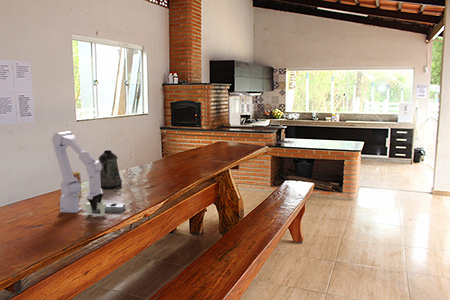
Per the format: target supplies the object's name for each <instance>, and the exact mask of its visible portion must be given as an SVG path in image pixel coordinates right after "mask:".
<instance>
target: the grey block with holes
mask: <svg viewBox="0 0 450 300" xmlns="http://www.w3.org/2000/svg"><path fill="white" fill-rule="evenodd" d="M105 203H106V208H105V213H123V211H124V210H126V203H121V202H120V203H119V202H105ZM94 212H95V213H97V212H98V213H99V212H100V209H96V210H92V213H94ZM100 213H101V212H100Z"/></svg>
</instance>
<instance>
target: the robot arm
mask: <svg viewBox="0 0 450 300" xmlns="http://www.w3.org/2000/svg"><path fill="white" fill-rule="evenodd" d="M51 141H52V144H53V149H54V152H55V155H56V160H57V163H58V166H59V170H60V174H61V175H62V179H63V180H62V181H61V182H60V192H61V196H60V197H59V207H60V211H59V213H72V214H73V213H74V214H77V213H78V212H79V211H81V210H82V209H83V207H80V197H79V192H80V191H81V192H82V183H81V184H80V183H79V181H78V179H77V178H75V177H74V176H73V173H72V172H73V170H72V166H71V164H70V160H69V157H68V154H67V151H66V150H67V148H68V146H69V147H70V148H71V149H72V150H73V151H74V152H75V153H76V154H77V155H78V159H79V160H80V161H81V162H82V164H83V165H84V166H85V170H86V172H87V175H88V184H89V185H88V186H89V193H88V196H87V197H86V198H87V201H88V202H89V203H90V205H91V208H92V210H96V209H97V203H102V199H103V197H104V191H103V189H102V188H101V181H100V171H101V170H102V164H101V162H100V161H99V160H97V159H95V158H94V157H93V155H92V154H90V151H88V150H84V149H83V147H82V146H81V145H80V144H79V142H78V141H77V140H76V135H75V134H74V133H73V132H72V131H70V130H67V131H61V132H55V133H53V136H52V137H51ZM68 183H70V184H68Z"/></svg>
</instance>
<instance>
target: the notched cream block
mask: <svg viewBox="0 0 450 300" xmlns="http://www.w3.org/2000/svg"><path fill="white" fill-rule="evenodd" d="M106 203H107V202H101V203H97V209H100V217H103V216H105V215H106V212H105V208H106ZM85 209H87V216H88V215H91V216H92V215H93V211H92V208H91V205H90V203H89V201H88V202H86V203H85Z"/></svg>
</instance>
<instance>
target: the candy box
mask: <svg viewBox="0 0 450 300" xmlns="http://www.w3.org/2000/svg"><path fill="white" fill-rule="evenodd" d="M72 173H73V176H74V177H75V178H77V179H78V181H79V183H80V184H81V185H82V182H81V181H82V180H81V178H82V177H81V171H72ZM68 184H70V183H68ZM81 196H82V190H81V191H80V192H79V198H80V197H81Z"/></svg>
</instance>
